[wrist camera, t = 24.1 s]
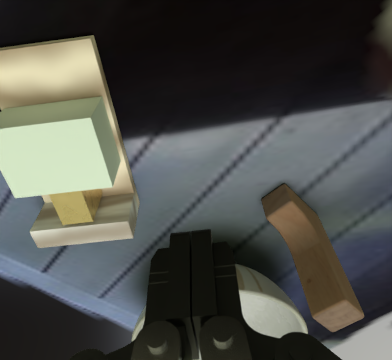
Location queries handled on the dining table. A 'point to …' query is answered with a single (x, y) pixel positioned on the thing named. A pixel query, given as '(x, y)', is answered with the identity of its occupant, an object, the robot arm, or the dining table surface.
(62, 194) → the brass block
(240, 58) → the dining table surface
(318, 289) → the wooden block
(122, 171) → the vise
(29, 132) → the block
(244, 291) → the decorative bowl
